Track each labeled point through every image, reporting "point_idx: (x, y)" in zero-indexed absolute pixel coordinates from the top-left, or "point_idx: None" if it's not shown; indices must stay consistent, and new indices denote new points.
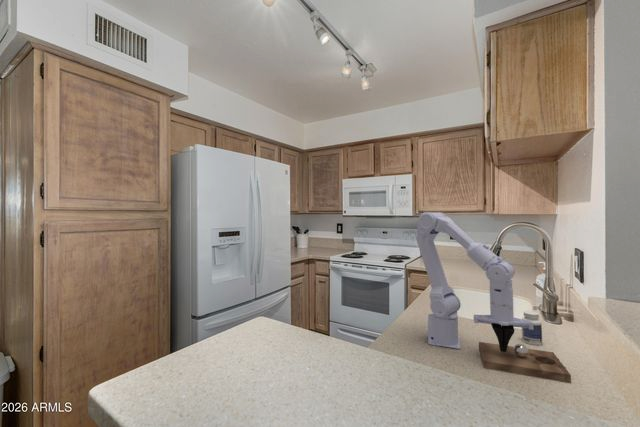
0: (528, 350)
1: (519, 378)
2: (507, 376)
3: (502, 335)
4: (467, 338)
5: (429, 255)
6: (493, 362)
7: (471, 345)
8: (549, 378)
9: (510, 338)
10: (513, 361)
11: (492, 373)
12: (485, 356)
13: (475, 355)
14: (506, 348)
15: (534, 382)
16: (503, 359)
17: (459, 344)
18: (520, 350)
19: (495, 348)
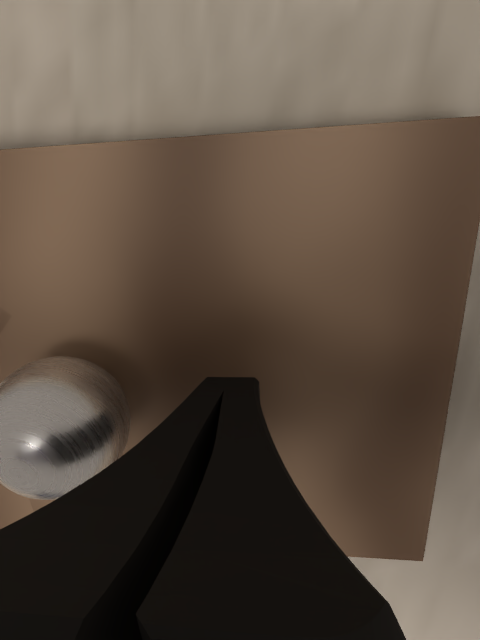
0: None
1: (137, 37)
2: (243, 22)
3: (195, 514)
4: (462, 629)
5: None
6: (373, 125)
7: (460, 537)
8: None
9: (79, 487)
10: (155, 251)
11: (390, 16)
12: (438, 254)
13: (474, 374)
14: (192, 392)
15: (16, 16)
16: (248, 259)
17: None
18: (47, 383)
19: (293, 475)
